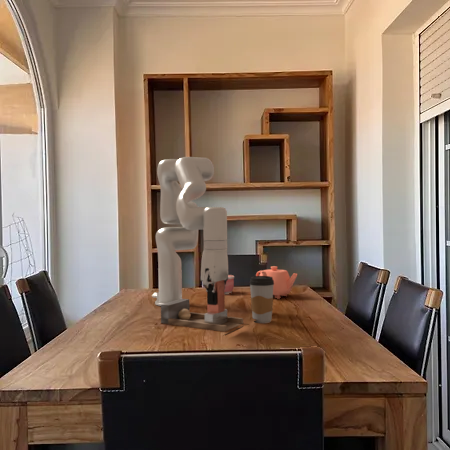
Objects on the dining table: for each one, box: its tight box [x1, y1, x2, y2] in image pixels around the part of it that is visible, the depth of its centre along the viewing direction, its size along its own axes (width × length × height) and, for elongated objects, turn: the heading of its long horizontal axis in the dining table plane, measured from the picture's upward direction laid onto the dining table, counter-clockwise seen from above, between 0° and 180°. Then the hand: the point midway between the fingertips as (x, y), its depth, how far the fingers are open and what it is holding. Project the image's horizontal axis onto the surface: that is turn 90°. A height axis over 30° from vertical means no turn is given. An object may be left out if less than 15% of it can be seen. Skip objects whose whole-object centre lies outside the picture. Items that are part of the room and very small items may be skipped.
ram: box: [204, 280, 228, 324], centre depth 144 cm, size 4×9×14 cm, turn 150°
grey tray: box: [160, 298, 244, 336], centre depth 146 cm, size 24×12×7 cm, turn 60°
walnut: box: [179, 309, 191, 320], centre depth 150 cm, size 4×4×4 cm
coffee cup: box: [249, 275, 274, 324], centre depth 153 cm, size 8×8×15 cm
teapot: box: [255, 265, 298, 300], centre depth 200 cm, size 16×17×14 cm
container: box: [224, 274, 235, 295], centre depth 212 cm, size 10×10×8 cm
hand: (216, 302), depth 144 cm, fingers closed on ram, 4 cm apart
